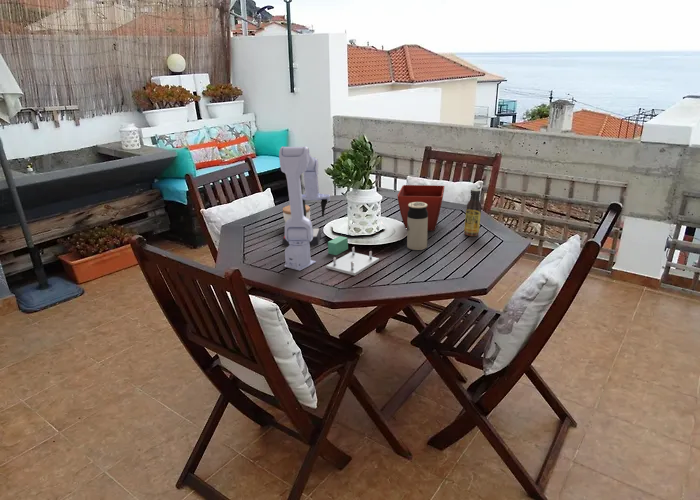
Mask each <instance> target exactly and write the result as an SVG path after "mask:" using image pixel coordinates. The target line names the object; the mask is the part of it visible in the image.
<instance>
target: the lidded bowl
mask: <svg viewBox="0 0 700 500" xmlns="http://www.w3.org/2000/svg"><path fill="white" fill-rule="evenodd" d="M305 207H306V217H307V218H308V219H309V220H311V206H309V205H308V204H305ZM282 213H283V214H282V215H283V219H284V222H285V223H286V221H287V220H288V219H290V218H291V210H290V204H288V205H286V206H284V207H282Z"/></svg>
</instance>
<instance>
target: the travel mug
mask: <svg viewBox="0 0 700 500" xmlns="http://www.w3.org/2000/svg"><path fill="white" fill-rule="evenodd" d="M408 206H409V211H408V218H407V233H406V234H407V235H406V237H407V240H406V241H407V242H406V244H407V245H406V246H407V247H406V248H407V249H409V250H412V251H423V250H425V249H427V248H428V231H427V228H428V212H427V210H426V208H427V204H426V203H424V202H412V203H409V204H408Z"/></svg>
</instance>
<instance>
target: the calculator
mask: <svg viewBox="0 0 700 500" xmlns="http://www.w3.org/2000/svg"><path fill="white" fill-rule="evenodd" d="M321 238H322V232H321V229H320V228H313V239H312V241H311V242H309V243H310V246H318V245H319V243H320V240H321ZM281 241H282V245H283V246H289V245H290V244H289V241H287V240H286V239H285V234H284V236H283V237H282V240H281Z"/></svg>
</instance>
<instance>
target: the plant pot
mask: <svg viewBox="0 0 700 500" xmlns="http://www.w3.org/2000/svg"><path fill="white" fill-rule="evenodd" d="M444 192H445V185H437V184H436V185H430V184H427V185H425V184H423V185H422V184H420V185H419V184H418V185H417V184H404V185H403V184H402V186H401V188H400V190H399V191H398V194H397V204H398V208H399V211H400V216H401V220H402V223H403V226H404V229H405V228H407V218H408V211H409V206H408V204H409V203H412V202H424V203H426V204H427V208H426V210H427V212H428V228H427V232H428V231H429V232H434V231H435V230H436V227H437V224H438V220H439V216H440V211H441V207H442V204H443V200H444V199H443V198H444Z"/></svg>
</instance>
